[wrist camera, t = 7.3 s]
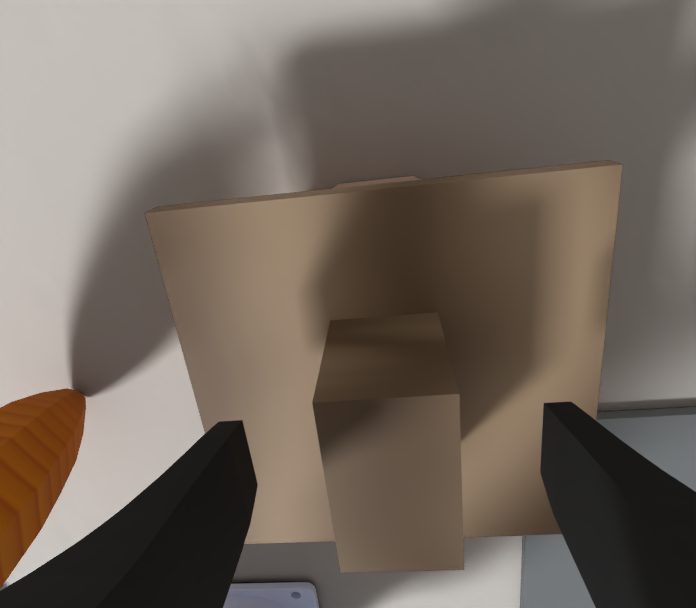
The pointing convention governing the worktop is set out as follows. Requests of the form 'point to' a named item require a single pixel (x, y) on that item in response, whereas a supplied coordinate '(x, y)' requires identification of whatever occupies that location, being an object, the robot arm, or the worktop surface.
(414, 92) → the worktop surface
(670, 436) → the rubber mat
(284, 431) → the walnut lid
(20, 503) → the carrot
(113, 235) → the worktop surface
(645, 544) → the robot arm
